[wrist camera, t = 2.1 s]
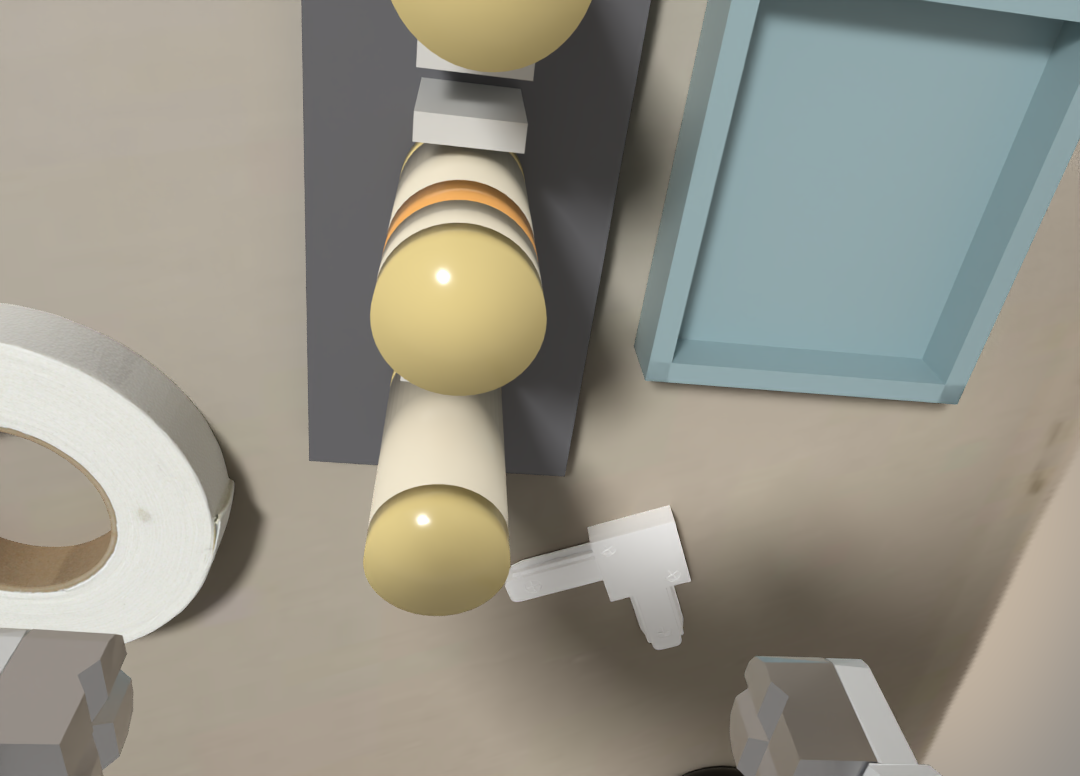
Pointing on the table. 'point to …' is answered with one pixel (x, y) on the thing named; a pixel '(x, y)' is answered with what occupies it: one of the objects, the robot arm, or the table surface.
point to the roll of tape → (109, 480)
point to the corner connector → (618, 571)
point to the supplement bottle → (716, 772)
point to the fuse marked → (459, 273)
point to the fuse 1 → (492, 29)
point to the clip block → (465, 121)
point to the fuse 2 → (439, 502)
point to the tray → (857, 191)
